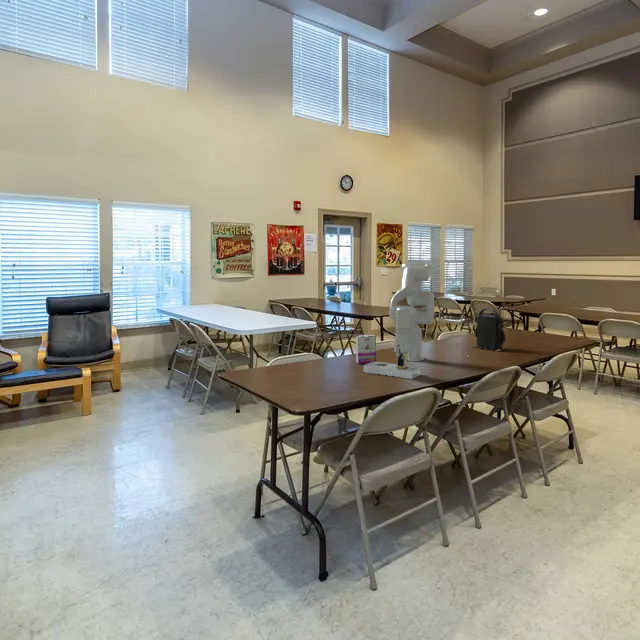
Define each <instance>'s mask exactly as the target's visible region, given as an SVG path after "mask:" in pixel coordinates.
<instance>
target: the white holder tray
mask: <svg viewBox="0 0 640 640" xmlns="http://www.w3.org/2000/svg"><path fill="white" fill-rule="evenodd" d="M364 372H365V374H371V375H378V374H380V375H379V376H385V375H387V376H386V377H392V376H394V378H401V379H409V380H413V379H415V378H417V377H419V376H421V375H422V367H421V366H414V365H407V369H399V368H397V364H396V363H390V362H384V361H383V362H381V361H376V362H375V361H373V362H371V363H366V364H363V373H364ZM420 374H421V375H420Z"/></svg>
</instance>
